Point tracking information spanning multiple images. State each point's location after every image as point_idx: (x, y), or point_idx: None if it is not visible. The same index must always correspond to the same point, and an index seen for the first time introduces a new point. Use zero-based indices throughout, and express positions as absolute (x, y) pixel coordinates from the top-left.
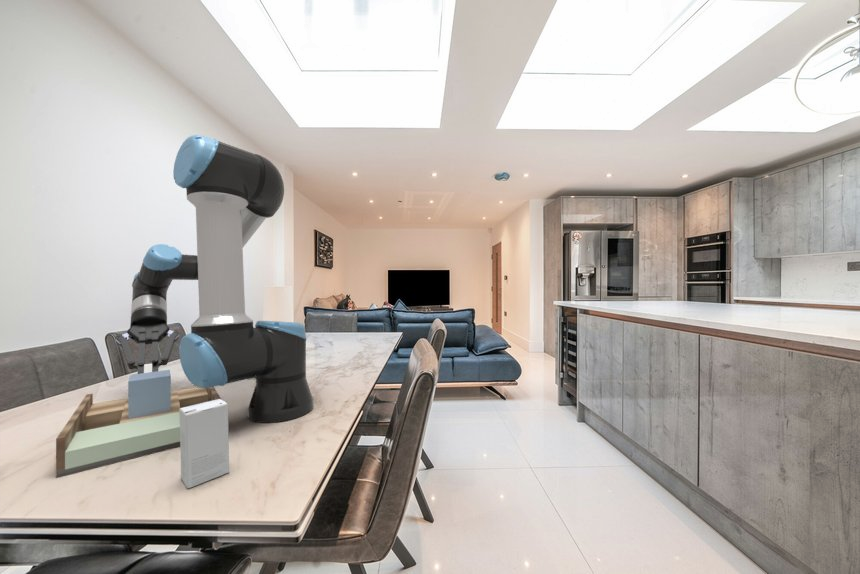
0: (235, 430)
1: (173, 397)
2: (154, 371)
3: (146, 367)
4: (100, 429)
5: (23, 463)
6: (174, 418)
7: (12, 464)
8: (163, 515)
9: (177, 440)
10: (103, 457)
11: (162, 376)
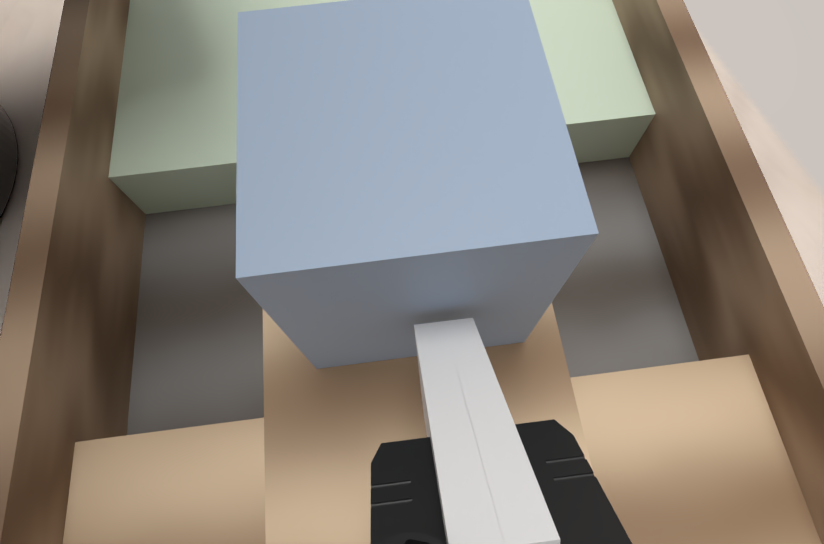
0: None
1: (297, 513)
2: (411, 482)
3: (508, 482)
4: (565, 98)
5: (762, 166)
6: None
7: (798, 177)
8: None
9: None
10: None
11: (296, 15)
